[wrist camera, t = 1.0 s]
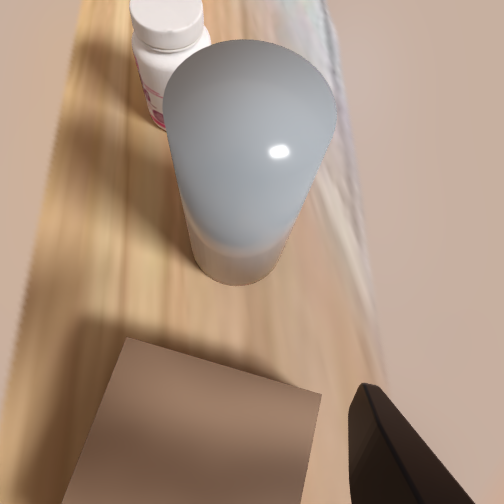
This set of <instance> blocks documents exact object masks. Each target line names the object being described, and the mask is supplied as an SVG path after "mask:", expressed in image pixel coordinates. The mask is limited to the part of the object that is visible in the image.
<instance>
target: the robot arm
mask: <svg viewBox="0 0 504 504" xmlns="http://www.w3.org/2000/svg"><path fill="white" fill-rule="evenodd" d="M348 441H349V484H350V494H351V502H352V504H475V503H474V502H473V500H472V499H471V498H470V497H469V496H468V494H467V493H466V492H465V491H464V489H463V488H462V487H461V486H460V485H459V483H458V482H457V481H456V480H455V478H454V477H453V476H452V475H451V474H450V473H449V471H448V470H447V469H446V467H445V466H444V465H443V464H442V463H441V461H440V460H439V459H438V458H437V456H436V455H435V454H434V453H433V452H432V450H431V449H430V448H429V447H428V446H427V444H426V443H425V442H424V441H423V440H422V438H421V437H420V436H419V435H418V433H417V432H416V431H415V430H414V429H413V427H412V426H411V425H410V424H409V422H408V421H407V420H406V419H405V417H404V416H403V415H402V414H401V413H400V411H399V410H398V409H397V408H396V406H395V405H394V404H393V403H392V402H391V400H390V399H389V398H388V397H387V395H386V394H385V393H384V392H383V391H382V389H381V388H380V387H378V386H376V385H372V384H368V383H361V384H360V385H359V387H358V389H357V392H356V394H355V396H354V398H353V401H352V403H351V405H350V408H349V413H348Z"/></svg>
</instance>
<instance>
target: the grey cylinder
mask: <svg viewBox="0 0 504 504" xmlns="http://www.w3.org/2000/svg"><path fill="white" fill-rule="evenodd" d="M162 111H163V118H164V123H165V128H166V132H167V137H168V141H169V146H170V151H171V155H172V160H173V164H174V169H175V174H176V178H177V183H178V187H179V192H180V197H181V201H182V206H183V210H184V215H185V220H186V224H187V229H188V233H189V238H190V243H191V247H192V252H193V255H194V258H195V260H196V262H197V264H198V266H199V267H200V268H201V270H202V271H203V272H204V273H205V274H206V275H207V276H209V277H210V278H212V279H213V280H215V281H217V282H220V283H222V284H226V285H231V286H244V285H249V284H252V283H255V282H257V281H260V280H261V279H263V278H264V277H266V276H267V275H268V274H269V273H270V272H271V271H272V270H273V269H274V267H275V266H276V264H277V262H278V260H279V258H280V256H281V254H282V251H283V249H284V247H285V244H286V242H287V240H288V238H289V235H290V233H291V231H292V228H293V226H294V224H295V222H296V219H297V217H298V215H299V212H300V210H301V208H302V205H303V203H304V201H305V199H306V196H307V194H308V192H309V189H310V187H311V185H312V183H313V180H314V178H315V176H316V173H317V171H318V169H319V167H320V164H321V162H322V160H323V157H324V155H325V153H326V150H327V148H328V146H329V144H330V141H331V139H332V136H333V133H334V130H335V126H336V120H337V110H336V104H335V99H334V96H333V93H332V91H331V89H330V87H329V85H328V83H327V81H326V80H325V78H324V77H323V75H322V74H321V73H320V72H319V71H318V70H317V69H316V68H315V67H314V66H313V65H312V64H311V63H310V62H309V61H307V60H306V59H305V58H303V57H302V56H300V55H299V54H297V53H295V52H293V51H291V50H289V49H287V48H285V47H282V46H279V45H276V44H273V43H269V42H264V41H258V40H230V41H225V42H220V43H216V44H213V45H210V46H207V47H205V48H203V49H201V50H199V51H197V52H195V53H193V54H192V55H191V56H189V57H188V58H187V59H185V60H184V61H183V62H182V63H181V64H180V65H179V66H178V67H177V68H176V70H175V71H174V72H173V74H172V75H171V77H170V79H169V81H168V82H167V85H166V88H165V91H164V95H163V104H162Z"/></svg>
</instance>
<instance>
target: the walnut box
mask: <svg viewBox="0 0 504 504" xmlns="http://www.w3.org/2000/svg"><path fill="white" fill-rule="evenodd" d="M321 396H322V394H319V393H315V392H312V391H308V390H305V389H302V388H298V387H295V386H292V385H288V384H285V383H281V382H278V381H275V380H271V379H268V378H265V377H261V376H258V375H254V374H251V373H248V372H244V371H241V370H238V369H234V368H231V367H228V366H224V365H221V364H217V363H214V362H211V361H207V360H204V359H201V358H197V357H194V356H190V355H187V354H184V353H180V352H177V351H174V350H170V349H167V348H163V347H160V346H157V345H153V344H150V343H147V342H143V341H140V340H137V339H133V338H130V337H126V340H125V342H124V345H123V347H122V350H121V352H120V355H119V358H118V360H117V363H116V365H115V368H114V370H113V373H112V375H111V378H110V381H109V383H108V386H107V388H106V391H105V393H104V396H103V398H102V401H101V403H100V406H99V409H98V411H97V414H96V416H95V419H94V421H93V424H92V426H91V429H90V431H89V434H88V437H87V439H86V442H85V444H84V447H83V449H82V452H81V454H80V457H79V459H78V462H77V465H76V467H75V470H74V472H73V475H72V477H71V480H70V482H69V485H68V487H67V490H66V493H65V495H64V498H63V500H62V503H61V504H300V502H301V497H302V492H303V487H304V482H305V477H306V472H307V467H308V462H309V457H310V452H311V447H312V442H313V436H314V431H315V426H316V421H317V416H318V411H319V406H320V401H321Z"/></svg>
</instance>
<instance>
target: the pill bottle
mask: <svg viewBox="0 0 504 504" xmlns="http://www.w3.org/2000/svg"><path fill="white" fill-rule="evenodd" d="M129 9H130V14H131V19H132V25H133V28H134V32H133V35H132V48H133V53H134V56H135V60H136V64H137V68H138V72H139V75H140V79H141V83H142V87H143V90H144V94H145V98H146V101H147V105H148V109H149V113H150V115H151V117H152V119H153V121H154V122H155V123H156V124H157V125H158V126H159V127H160V128H162V129H163V130H165V131H166V128H165V123H164V118H163V111H162V104H163V95H164V91H165V88H166V85H167V82H168V81H169V79H170V77H171V75H172V74H173V72H174V71H175V70H176V68H177V67H178V66H179V65H180V64H181V63H182V62H183V61H184V60H185V59H187V58H188V57H189V56H191V55H192V54H193V53H195V52H197V51H199V50H201V49H203V48H205V47H207V46H210V45H211V40H210V35H209V33H208V31H207V29H206V27H205V26H204V16H203V4H202V1H201V0H130V4H129Z"/></svg>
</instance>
